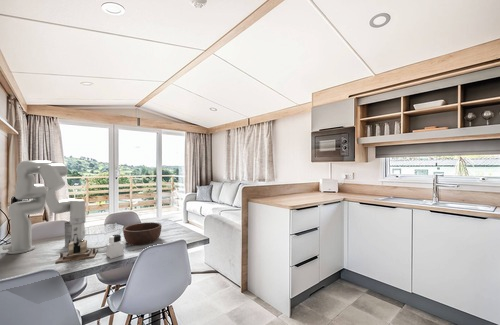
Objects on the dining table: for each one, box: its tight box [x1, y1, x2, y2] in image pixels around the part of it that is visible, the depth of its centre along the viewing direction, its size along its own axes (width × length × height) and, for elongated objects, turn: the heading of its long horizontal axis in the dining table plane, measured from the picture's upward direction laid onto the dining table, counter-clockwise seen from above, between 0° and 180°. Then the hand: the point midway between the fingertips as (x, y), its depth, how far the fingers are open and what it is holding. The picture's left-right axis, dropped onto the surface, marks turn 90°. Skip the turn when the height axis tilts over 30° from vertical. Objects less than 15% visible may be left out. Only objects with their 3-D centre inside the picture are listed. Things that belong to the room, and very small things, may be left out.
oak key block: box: [68, 239, 88, 254], centre depth 139 cm, size 4×8×6 cm, turn 114°
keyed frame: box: [54, 247, 99, 264], centre depth 139 cm, size 18×13×4 cm
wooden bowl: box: [122, 221, 162, 246], centre depth 167 cm, size 25×25×10 cm
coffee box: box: [64, 220, 74, 247], centre depth 162 cm, size 9×6×16 cm
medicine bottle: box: [105, 234, 125, 259], centre depth 140 cm, size 7×7×12 cm
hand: (77, 251), depth 139 cm, fingers closed on oak key block, 4 cm apart
